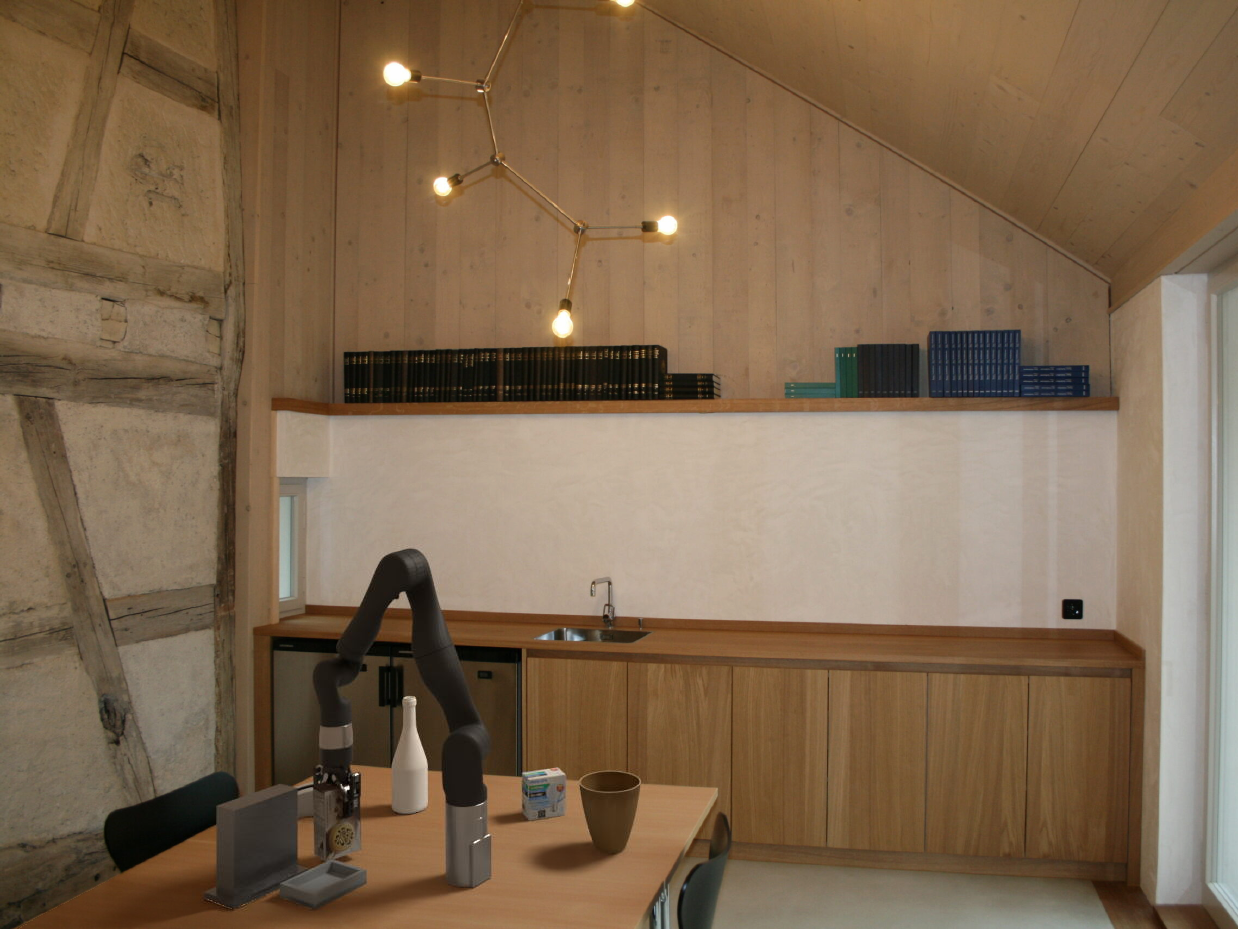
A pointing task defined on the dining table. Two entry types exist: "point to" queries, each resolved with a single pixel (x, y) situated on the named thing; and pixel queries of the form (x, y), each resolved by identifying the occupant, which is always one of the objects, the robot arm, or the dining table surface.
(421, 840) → the dining table surface
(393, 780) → the wine bottle
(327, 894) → the parts tray
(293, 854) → the upright panel on base
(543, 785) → the light bulb box
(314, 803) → the coffee box
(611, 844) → the plant pot
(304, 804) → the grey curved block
